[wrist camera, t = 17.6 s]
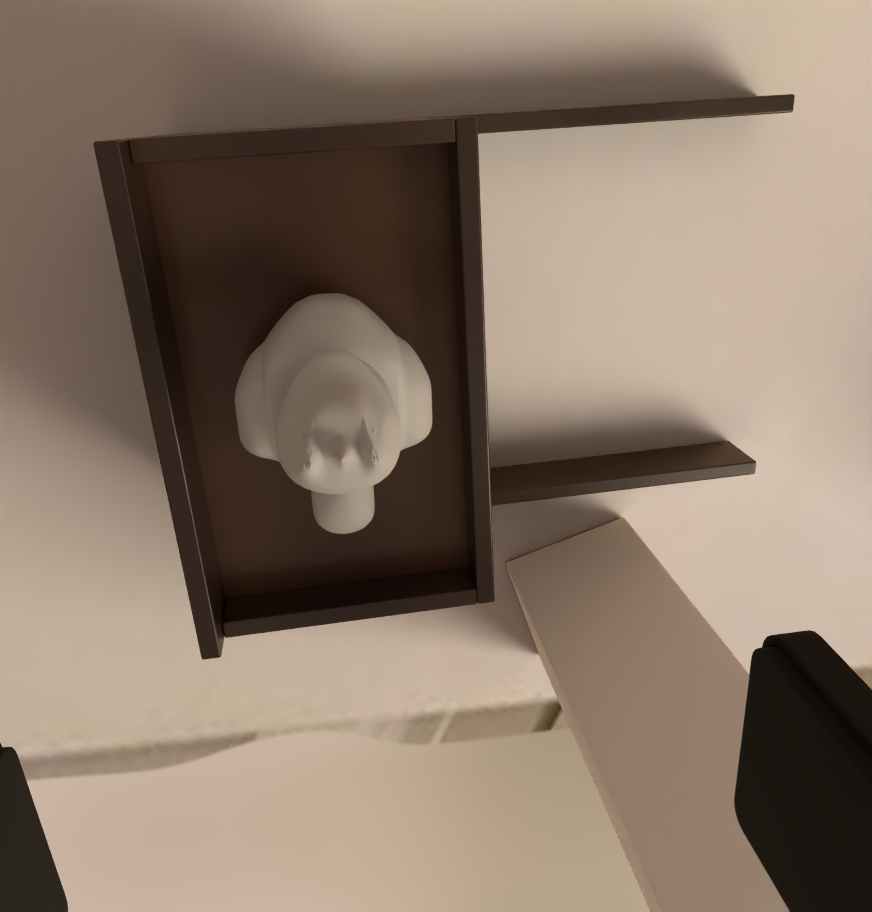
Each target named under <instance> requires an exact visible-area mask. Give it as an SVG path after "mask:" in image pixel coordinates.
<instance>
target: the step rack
mask: <svg viewBox="0 0 872 912" xmlns="http://www.w3.org/2000/svg"><path fill="white" fill-rule="evenodd" d="M793 105H794V95H793V94H789V95H771V96H753V97H738V98H723V99H707V100H692V101H676V102H661V103H646V104H630V105H615V106H599V107H584V108H569V109H553V110H538V111H523V112H507V113H492V114H476V115H461V116H446V117H430V118H415V119H399V120H384V121H369V122H353V123H338V124H323V125H307V126H292V127H276V128H261V129H246V130H230V131H215V132H199V133H184V134H169V135H157V136H147V137H137V138H126V139H116V140H106V141H95V142H94V144H93V145H94V149H95V154H96V159H97V164H98V168H99V173H100V178H101V183H102V187H103V192H104V197H105V202H106V206H107V211H108V216H109V221H110V225H111V230H112V235H113V240H114V244H115V249H116V254H117V259H118V263H119V268H120V273H121V278H122V282H123V287H124V292H125V297H126V301H127V306H128V311H129V316H130V320H131V325H132V330H133V335H134V339H135V344H136V349H137V354H138V358H139V363H140V368H141V373H142V377H143V382H144V387H145V392H146V396H147V401H148V406H149V411H150V415H151V420H152V425H153V430H154V434H155V439H156V444H157V449H158V453H159V458H160V463H161V468H162V472H163V477H164V482H165V487H166V491H167V496H168V501H169V506H170V510H171V515H172V520H173V524H174V529H175V534H176V539H177V543H178V548H179V553H180V558H181V562H182V567H183V572H184V577H185V581H186V586H187V591H188V596H189V600H190V605H191V610H192V615H193V619H194V624H195V629H196V634H197V638H198V643H199V648H200V653H201V657H202V659H211V658H218V657H221V654H222V648H223V641H224V636H225V637H226V638H227V637H235V636H242V635H250V634H257V633H265V632H272V631H280V630H287V629H294V628H302V627H309V626H317V625H324V624H332V623H339V622H347V621H354V620H361V619H369V618H376V617H384V616H391V615H399V614H406V613H413V612H421V611H428V610H436V609H443V608H451V607H458V606H466V605H473V604H476V603H477V602H478V603H479V604H480V603H488V602H494V600H495V595H494V567H493V540H492V512H491V506H492V505H501V504H509V503H517V502H525V501H534V500H542V499H550V498H559V497H567V496H575V495H583V494H592V493H600V492H608V491H617V490H625V489H633V488H641V487H650V486H658V485H666V484H675V483H683V482H691V481H699V480H708V479H716V478H724V477H733V476H741V475H749V474H755V468H756V461H754V460H753V459H752V458H750V457H749V456H748V455H746V454H745V453H744V452H743V451H741V450H740V449H739V448H737V447H736V446H735V445H733V444H732V443H731V442H729V441H725V442H716V443H707V444H699V445H690V446H681V447H673V448H664V449H655V450H647V451H638V452H629V453H621V454H612V455H603V456H595V457H586V458H577V459H569V460H560V461H551V462H543V463H534V464H525V465H517V466H508V467H499V468H491V469H490V456H489V429H488V401H487V373H486V346H485V318H484V290H483V263H482V235H481V207H480V180H479V152H478V134H479V133H494V132H509V131H523V130H538V129H553V128H568V127H582V126H597V125H612V124H627V123H641V122H656V121H671V120H686V119H701V118H715V117H730V116H745V115H760V114H774V113H789V112H792V111H793ZM326 293H340V294H345V295H348V296H350V297H352V298H355V299H358V300H359V301H361V302H362V303H363V304H364V305H366V306H367V307H368V308H369V309H370V310H372V311H373V312H374V313H375V314H376V315H377V316H378V317H379V318H380V319H381V320H382V321H383V322H384V323H385V324H386V325H387V326H388V327H389V328H390V329H391V330H392V331H393V333H394V334H396V335H397V336H399V337H400V338H402V339H403V340H404V341H406V342H407V343H408V344H409V345H410V346H411V347H412V349H413V350H414V351H415V353H416V354H417V356H418V357H419V359H420V361H421V362H422V364H423V366H424V368H425V370H426V372H427V374H428V377H429V379H430V383H431V393H432V427H431V430H430V432H429V434H428V436H427V437H426V438H425V439H424V440H422V441H421V442H419V443H417V444H416V445H413V446H411V447H408V448H405V449H403V450H401V451H400V453H399V457H398V460H397V462H396V465H395V467H394V468H393V469H392V471H391V472H390V474H389V475H388V476H387V477H385V478H384V479H383V480H382V481H380V482H379V483H377V484H375V485H373V488H374V502H375V510H374V515H373V518H372V519H371V521H370V522H369V523H368V524H367V525H366V526H365V527H364V528H362V529H361V530H358V531H356V532H352V533H347V534H337V533H332V532H329V531H327V530H325V529H324V528H322V527H321V526H320V525H319V524H318V523H317V521H316V519H315V517H314V513H313V505H312V496H311V490H308V489H305V488H303V487H302V486H300V485H298V484H296V483H295V482H294V481H293V480H292V479H291V478H290V477H289V476H288V475H287V474H286V472H285V471H284V469H283V467H282V465H281V463H280V462H278V461H276V460H272V459H266V458H261V457H258V456H256V455H254V454H252V453H250V452H249V451H247V450H246V449H245V447H244V446H243V444H242V442H241V440H240V436H239V430H238V423H237V416H236V408H235V392H236V387H237V384H238V381H239V378H240V375H241V372H242V370H243V368H244V365H245V363H246V361H247V360H248V358H249V356H250V355H251V354H252V353H253V352H254V351H255V350H256V349H257V348H258V347H259V346H260V345H261V344H262V343H263V342H264V341H265V339H266V338H267V336H268V335H269V333H270V332H271V330H272V329H273V327H274V326H275V325H276V323H277V322H278V321H279V320H280V319H281V317H282V316H283V315H284V314H285V313H286V312H287V311H288V310H289V309H290V308H291V307H292V306H293V305H294V304H295V303H296V302H298V301H300V300H302V299H304V298H306V297H308V296H311V295H315V294H326Z"/></svg>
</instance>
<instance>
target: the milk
mask: <svg viewBox="0 0 872 912" xmlns="http://www.w3.org/2000/svg"><path fill="white" fill-rule="evenodd" d="M506 566H507V569H508V572H509V575H510V577H511V580H512V583H513V585H514V588H515V591H516V594H517V596H518V599H519V602H520V604H521V607H522V610H523V613H524V615H525V618H526V621H527V623H528V626H529V629H530V632H531V634H532V637H533V640H534V642H535V645H536V648H537V651H538V653H539V656H540V658H541V661H542V663H543V666H544V668H545V670H546V672H547V675H548V677H549V679H550V682H551V684H552V686H553V689H554V691H555V693H556V695H557V698H558V700H559V702H560V705H561V707H562V709H563V712H564V714H565V716H566V718H567V721H568V723H569V725H570V728H571V730H572V732H573V734H574V737H575V739H576V741H577V744H578V746H579V748H580V751H581V753H582V755H583V758H584V760H585V762H586V764H587V767H588V769H589V771H590V773H591V776H592V778H593V780H594V783H595V785H596V787H597V790H598V792H599V794H600V797H601V799H602V801H603V804H604V806H605V808H606V810H607V813H608V815H609V817H610V820H611V822H612V824H613V826H614V829H615V831H616V833H617V836H618V838H619V840H620V843H621V845H622V847H623V850H624V852H625V854H626V856H627V859H628V861H629V863H630V866H631V868H632V870H633V872H634V875H635V877H636V879H637V882H638V884H639V886H640V889H641V891H642V893H643V896H644V898H645V900H646V902H647V905H648V907H649V909H650V912H790V911H789V910H788V908H787V906H786V904H785V903H784V901H783V899H782V898H781V896H780V894H779V892H778V891H777V889H776V887H775V886H774V884H773V882H772V881H771V879H770V877H769V875H768V874H767V872H766V870H765V869H764V867H763V865H762V863H761V862H760V860H759V858H758V857H757V855H756V853H755V851H754V850H753V848H752V846H751V845H750V843H749V841H748V840H747V838H746V836H745V834H744V833H743V831H742V829H741V827H740V825H739V822H738V820H737V816H736V812H735V806H734V795H735V787H736V779H737V771H738V763H739V755H740V747H741V739H742V731H743V723H744V715H745V707H746V699H747V691H748V683H749V673H748V672H747V671H746V670H745V668H744V667H743V666H742V665H741V663H740V662H739V661H738V660H737V658H736V657H735V656H734V655H733V653H732V652H731V651H730V650H729V648H728V647H727V646H726V645H725V643H724V642H723V641H722V639H721V638H720V637H719V636H718V634H717V633H716V632H715V631H714V629H713V628H712V627H711V626H710V624H709V623H708V622H707V621H706V619H705V618H704V617H703V616H702V614H701V613H700V612H699V611H698V609H697V608H696V607H695V606H694V604H693V603H692V602H691V601H690V599H689V598H688V597H687V596H686V594H685V593H684V592H683V591H682V589H681V588H680V587H679V586H678V584H677V583H676V582H675V581H674V579H673V578H672V577H671V576H670V574H669V573H668V572H667V571H666V569H665V568H664V567H663V566H662V564H661V563H660V562H659V561H658V559H657V558H656V557H655V556H654V554H653V553H652V552H651V551H650V549H649V548H648V547H647V546H646V544H645V543H644V542H643V541H642V539H641V538H640V537H639V536H638V534H637V533H636V532H635V531H634V529H633V528H632V527H631V526H630V524H629V523H628V522H627V521H626V519H625V518H620V519H617V520H615V521H612V522H609V523H607V524H604V525H602V526H599V527H597V528H594V529H591V530H589V531H586V532H584V533H581V534H578V535H576V536H573V537H571V538H568V539H565V540H563V541H560V542H558V543H555V544H552V545H550V546H547V547H545V548H542V549H540V550H537V551H534V552H532V553H529V554H527V555H524V556H521V557H519V558H516V559H514V560H511V561H508V562H507V563H506Z"/></svg>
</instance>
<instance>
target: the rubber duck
mask: <svg viewBox="0 0 872 912" xmlns="http://www.w3.org/2000/svg"><path fill="white" fill-rule="evenodd" d="M235 408H236V416H237V423H238V430H239V436H240V440H241V442H242V444H243V446H244V447H245V449H246V450H247V451H249V452H250V453H252V454H254V455H256V456H258V457H261V458H266V459H272V460H276V461H278V462H280V463H281V465H282V467H283V469H284V471H285V472H286V474H287V475H288V476H289V477H290V478H291V479H292V480H293V481H294V482H295V483H296V484H298V485H300V486H302V487H303V488H305V489H308V490H311V496H312V505H313V513H314V517H315V519H316V521H317V523H318V524H319V525H320V526H321V527H322V528H324V529H325V530H327V531H329V532H332V533H337V534H347V533H352V532H356V531H358V530H361V529H362V528H364V527H365V526H366V525H367V524H368V523H369V522H370V521H371V519H372V518H373V515H374V510H375V502H374V488H373V485H375V484H377V483H379V482H380V481H382V480H383V479H384V478H385V477H387V476H388V475H389V474H390V472H391V471H392V469H393V468H394V467H395V465H396V462H397V460H398V457H399V453H400V451H401V450H403V449H405V448H408V447H411V446H413V445H416V444H417V443H419V442H421V441H422V440H424V439H425V438H426V437H427V436H428V434H429V432H430V430H431V427H432V393H431V383H430V379H429V377H428V374H427V372H426V370H425V368H424V366H423V364H422V362H421V361H420V359H419V357H418V356H417V354H416V353H415V351H414V350H413V349H412V347H411V346H410V345H409V344H408V343H407V342H406V341H404V340H403V339H402V338H400V337H399V336H397V335H396V334H394V333H393V331H392V330H391V329H390V328H389V327H388V326H387V325H386V324H385V323H384V322H383V321H382V320H381V319H380V318H379V317H378V316H377V315H376V314H375V313H374V312H373V311H372V310H370V309H369V308H368V307H367V306H366V305H364V304H363V303H362V302H361V301H359V300H358V299H355V298H352V297H350V296H348V295H345V294H340V293H326V294H315V295H311V296H308V297H306V298H304V299H302V300H300V301H298V302H296V303H295V304H294V305H293V306H292V307H291V308H290V309H289V310H288V311H287V312H286V313H285V314H284V315H283V316H282V317H281V319H280V320H279V321H278V322H277V323H276V325H275V326H274V327H273V329H272V330H271V332H270V333H269V335H268V336H267V338H266V339H265V341H264V342H263V343H262V344H261V345H260V346H259V347H258V348H257V349H256V350H255V351H254V352H253V353H252V354H251V355H250V356H249V358H248V360H247V361H246V363H245V365H244V368H243V370H242V372H241V375H240V378H239V381H238V384H237V387H236V392H235Z"/></svg>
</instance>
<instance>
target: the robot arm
mask: <svg viewBox="0 0 872 912" xmlns="http://www.w3.org/2000/svg"><path fill="white" fill-rule="evenodd" d="M734 806H735V812H736V816H737V820H738V822H739V825H740V827H741V829H742V831H743V833H744V834H745V836H746V838H747V840H748V841H749V843H750V845H751V846H752V848H753V850H754V851H755V853H756V855H757V857H758V858H759V860H760V862H761V863H762V865H763V867H764V869H765V870H766V872H767V874H768V875H769V877H770V879H771V881H772V882H773V884H774V886H775V887H776V889H777V891H778V892H779V894H780V896H781V898H782V899H783V901H784V903H785V904H786V906H787V908H788V910H789V911H790V912H872V690H871V689H870V688H869V687H868V685H867V684H866V683H865V682H864V681H863V680H862V679H861V678H860V677H859V676H858V675H857V674H856V673H855V672H854V671H853V670H852V669H851V668H850V667H849V666H848V664H847V663H846V662H845V661H844V660H843V659H842V658H841V657H840V656H839V655H838V654H837V653H836V652H835V651H834V650H833V649H832V648H831V647H830V646H829V645H828V643H827V642H826V641H825V640H824V639H823V638H822V637H821V636H820V635H818V634H817V633H816V632H814V631H810V630H808V631H801V632H793V633H785V634H777V635H771V636H768V637H767V638H766V639H765V640H764V642H763V646H762V648H758V649H755V651H754V652H753V655H752V659H751V667H750V675H749V683H748V691H747V699H746V707H745V715H744V723H743V731H742V739H741V747H740V755H739V763H738V771H737V779H736V787H735V795H734ZM0 912H68V906H67V900H66V896H65V893H64V890H63V887H62V885H61V881H60V879H59V875H58V873H57V870H56V867H55V864H54V861H53V858H52V855H51V852H50V849H49V846H48V843H47V840H46V837H45V834H44V832H43V828H42V826H41V823H40V820H39V817H38V814H37V811H36V808H35V805H34V802H33V799H32V796H31V794H30V790H29V787H28V785H27V781H26V779H25V776H24V773H23V770H22V767H21V764H20V761H19V758H18V755H17V753H16V751H15V750H14V749H13V748H12V747H4V748H2V746H1V744H0Z"/></svg>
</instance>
